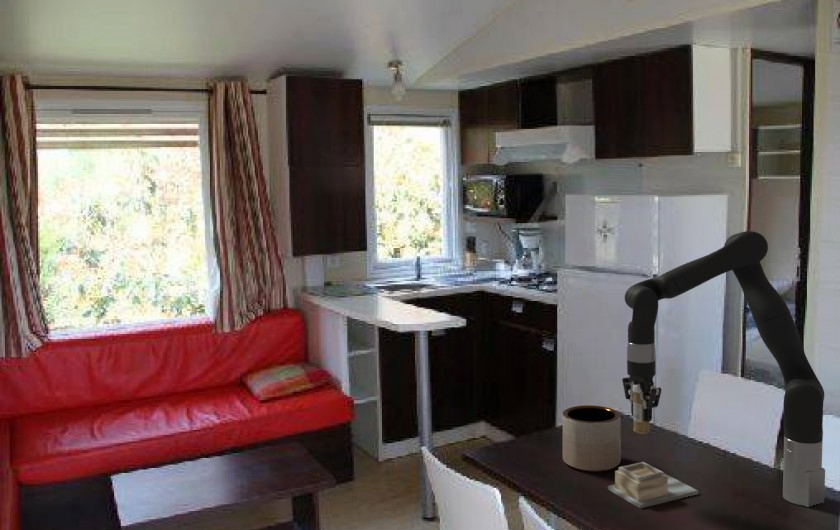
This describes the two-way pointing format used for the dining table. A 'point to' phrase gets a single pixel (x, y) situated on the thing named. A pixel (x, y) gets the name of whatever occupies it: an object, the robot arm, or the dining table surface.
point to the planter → (591, 438)
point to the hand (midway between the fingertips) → (641, 418)
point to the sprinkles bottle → (639, 413)
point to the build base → (672, 493)
